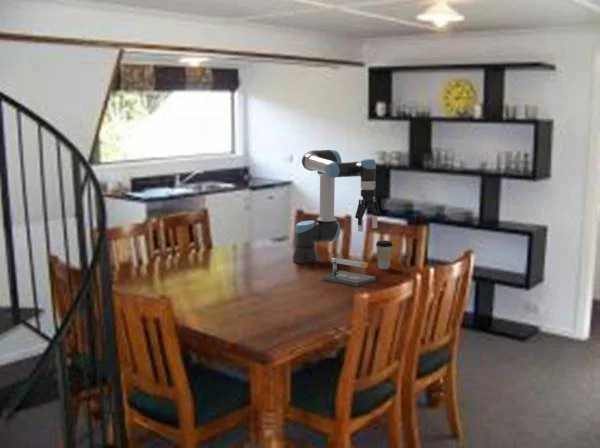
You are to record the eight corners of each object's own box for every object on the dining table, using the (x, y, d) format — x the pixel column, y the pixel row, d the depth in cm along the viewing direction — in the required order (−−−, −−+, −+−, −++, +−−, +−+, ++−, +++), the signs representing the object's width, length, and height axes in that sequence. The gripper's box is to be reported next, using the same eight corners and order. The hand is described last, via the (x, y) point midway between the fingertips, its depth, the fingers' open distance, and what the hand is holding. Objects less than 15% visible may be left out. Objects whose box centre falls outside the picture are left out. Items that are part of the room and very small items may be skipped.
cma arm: (329, 262, 347) (329, 258, 347) (334, 261, 350) (334, 257, 350) (363, 268, 333) (363, 263, 333) (368, 266, 336) (368, 262, 336)
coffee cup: (392, 266, 374) (392, 240, 372) (392, 270, 365) (393, 243, 362) (375, 266, 375) (375, 240, 373) (375, 269, 366) (375, 243, 363)
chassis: (322, 279, 344) (322, 264, 342) (340, 274, 356) (340, 259, 355) (357, 286, 330) (357, 270, 328) (375, 280, 342) (375, 265, 341)
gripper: (360, 191, 329) (360, 233, 333) (386, 187, 349) (386, 227, 352) (348, 190, 334) (348, 232, 337) (374, 186, 353) (374, 226, 357)
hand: (367, 229), depth 345 cm, fingers open, 13 cm apart
